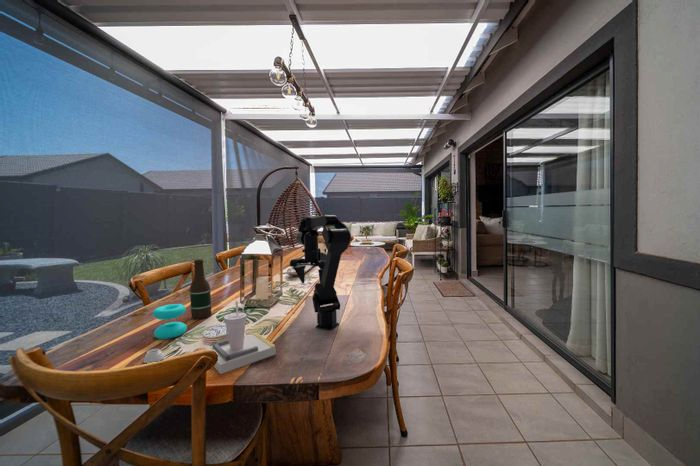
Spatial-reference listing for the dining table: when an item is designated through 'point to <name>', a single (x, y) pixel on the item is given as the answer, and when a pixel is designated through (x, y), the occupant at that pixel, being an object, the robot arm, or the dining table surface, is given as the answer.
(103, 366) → the dining table surface
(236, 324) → the smoothie
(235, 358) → the dock
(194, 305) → the beer bottle
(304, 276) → the robot arm
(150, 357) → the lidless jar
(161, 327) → the donuts
